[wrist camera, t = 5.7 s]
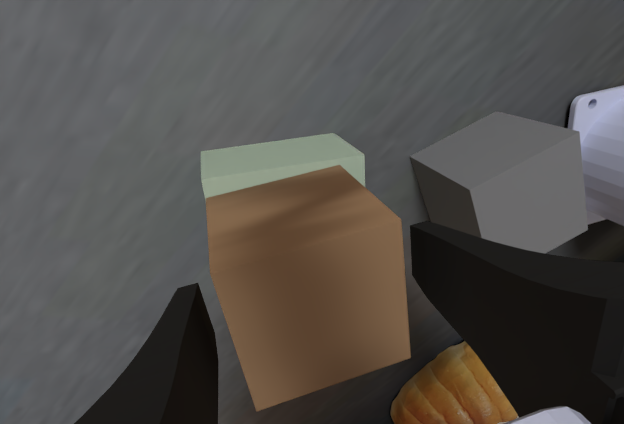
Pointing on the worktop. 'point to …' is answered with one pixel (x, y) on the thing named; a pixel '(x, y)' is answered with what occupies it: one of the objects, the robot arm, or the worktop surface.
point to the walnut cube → (308, 282)
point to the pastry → (452, 392)
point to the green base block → (276, 162)
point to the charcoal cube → (506, 182)
